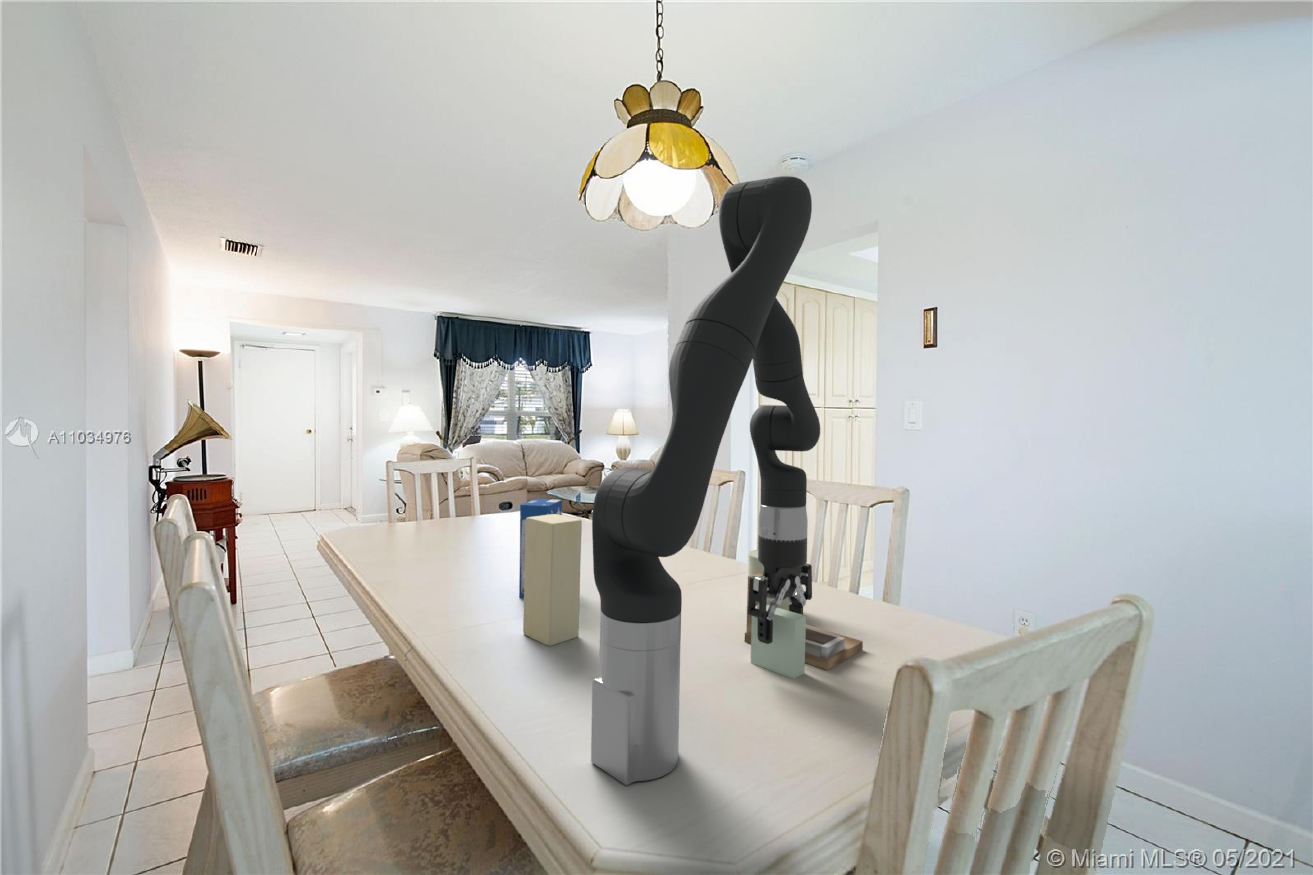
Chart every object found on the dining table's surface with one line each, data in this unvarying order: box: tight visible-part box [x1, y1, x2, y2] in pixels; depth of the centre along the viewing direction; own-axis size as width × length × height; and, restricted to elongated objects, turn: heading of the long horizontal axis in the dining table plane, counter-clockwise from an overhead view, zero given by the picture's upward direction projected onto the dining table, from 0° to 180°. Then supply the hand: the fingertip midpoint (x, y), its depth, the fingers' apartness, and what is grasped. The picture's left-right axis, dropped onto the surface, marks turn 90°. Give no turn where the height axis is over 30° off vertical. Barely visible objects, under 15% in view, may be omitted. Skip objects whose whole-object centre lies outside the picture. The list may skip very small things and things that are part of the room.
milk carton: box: [518, 498, 563, 599], centre depth 131 cm, size 10×6×20 cm, turn 172°
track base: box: [744, 572, 864, 671], centre depth 103 cm, size 12×16×12 cm
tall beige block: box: [522, 514, 583, 647], centre depth 105 cm, size 8×7×21 cm
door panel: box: [750, 605, 807, 679], centre depth 93 cm, size 3×8×9 cm, turn 45°
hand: (780, 635), depth 93 cm, fingers open, 8 cm apart
